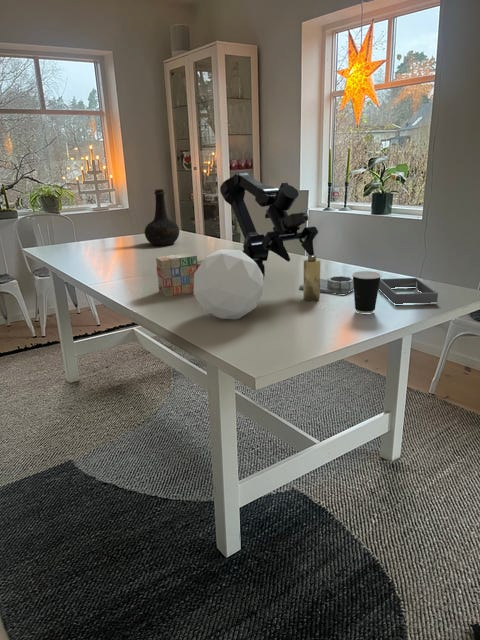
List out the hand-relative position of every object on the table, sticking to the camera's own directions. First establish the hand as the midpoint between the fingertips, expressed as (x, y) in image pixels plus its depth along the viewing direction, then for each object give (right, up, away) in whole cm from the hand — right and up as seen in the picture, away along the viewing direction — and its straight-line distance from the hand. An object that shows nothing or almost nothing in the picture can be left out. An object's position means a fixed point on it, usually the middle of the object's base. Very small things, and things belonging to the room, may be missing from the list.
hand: (301, 258), depth 151 cm
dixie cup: (+16, -17, -15) cm, 28 cm away
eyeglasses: (+32, -12, -1) cm, 34 cm away
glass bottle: (-59, +21, +103) cm, 121 cm away
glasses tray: (+32, -12, -2) cm, 34 cm away
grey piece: (+11, -8, +11) cm, 17 cm away
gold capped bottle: (+3, -13, -1) cm, 13 cm away
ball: (-22, -18, -14) cm, 32 cm away
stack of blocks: (-36, -9, +15) cm, 40 cm away
